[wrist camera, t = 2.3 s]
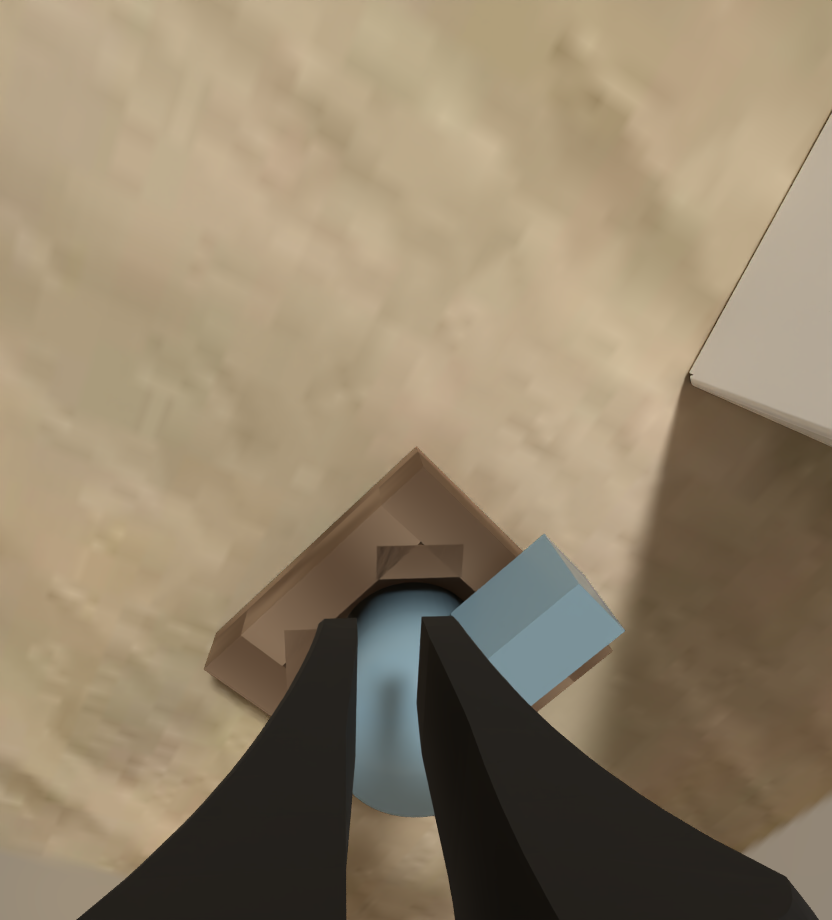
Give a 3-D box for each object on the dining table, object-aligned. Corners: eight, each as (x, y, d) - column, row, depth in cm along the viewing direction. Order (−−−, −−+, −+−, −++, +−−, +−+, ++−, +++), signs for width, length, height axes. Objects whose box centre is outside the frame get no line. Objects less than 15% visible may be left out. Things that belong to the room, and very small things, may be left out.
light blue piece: (406, 722, 23) (421, 842, 18) (308, 647, 22) (298, 757, 17) (588, 572, 22) (654, 660, 17) (499, 479, 20) (545, 548, 15)
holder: (405, 770, 25) (410, 813, 23) (216, 632, 21) (203, 669, 20) (591, 618, 23) (612, 651, 21) (416, 446, 20) (423, 466, 18)
